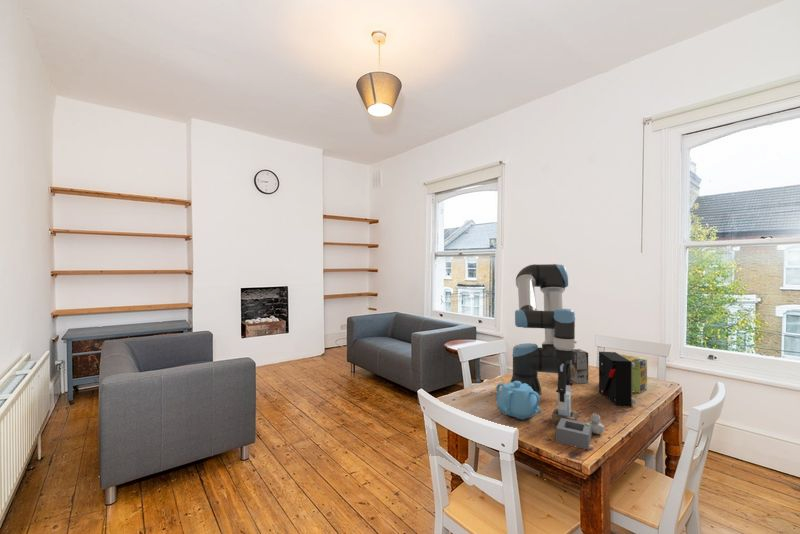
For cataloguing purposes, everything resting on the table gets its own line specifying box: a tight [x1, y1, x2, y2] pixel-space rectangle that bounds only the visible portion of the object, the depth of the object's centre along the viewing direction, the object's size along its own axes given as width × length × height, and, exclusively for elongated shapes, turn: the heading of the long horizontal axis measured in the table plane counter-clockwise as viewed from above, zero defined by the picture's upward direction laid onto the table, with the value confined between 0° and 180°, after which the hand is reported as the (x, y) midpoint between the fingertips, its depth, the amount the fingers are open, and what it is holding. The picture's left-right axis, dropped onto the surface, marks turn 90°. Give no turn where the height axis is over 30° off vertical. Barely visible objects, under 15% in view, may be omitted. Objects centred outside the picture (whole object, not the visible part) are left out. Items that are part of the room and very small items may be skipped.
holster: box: [551, 407, 578, 427], centre depth 139 cm, size 8×8×4 cm
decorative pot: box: [495, 381, 542, 421], centre depth 148 cm, size 16×16×14 cm
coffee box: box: [570, 348, 589, 384], centre depth 192 cm, size 9×6×16 cm
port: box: [555, 418, 592, 450], centre depth 126 cm, size 10×10×5 cm
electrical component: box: [598, 351, 636, 408], centre depth 165 cm, size 18×10×20 cm, turn 168°
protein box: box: [618, 353, 648, 394], centre depth 181 cm, size 10×15×16 cm
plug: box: [558, 391, 572, 417], centre depth 139 cm, size 4×4×12 cm
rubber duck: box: [587, 411, 605, 435], centre depth 132 cm, size 5×7×8 cm
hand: (564, 405), depth 139 cm, fingers open, 9 cm apart
